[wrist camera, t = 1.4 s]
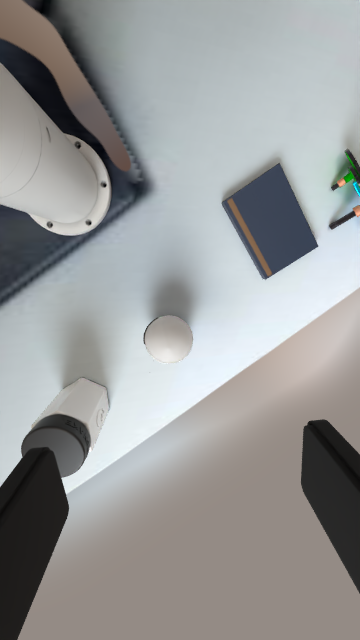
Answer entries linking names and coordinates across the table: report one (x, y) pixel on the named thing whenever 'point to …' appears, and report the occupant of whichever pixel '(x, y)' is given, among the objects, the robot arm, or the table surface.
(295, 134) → the table surface
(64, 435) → the jar
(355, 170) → the stick construction toy
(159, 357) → the white sphere
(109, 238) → the table surface
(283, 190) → the notebook
